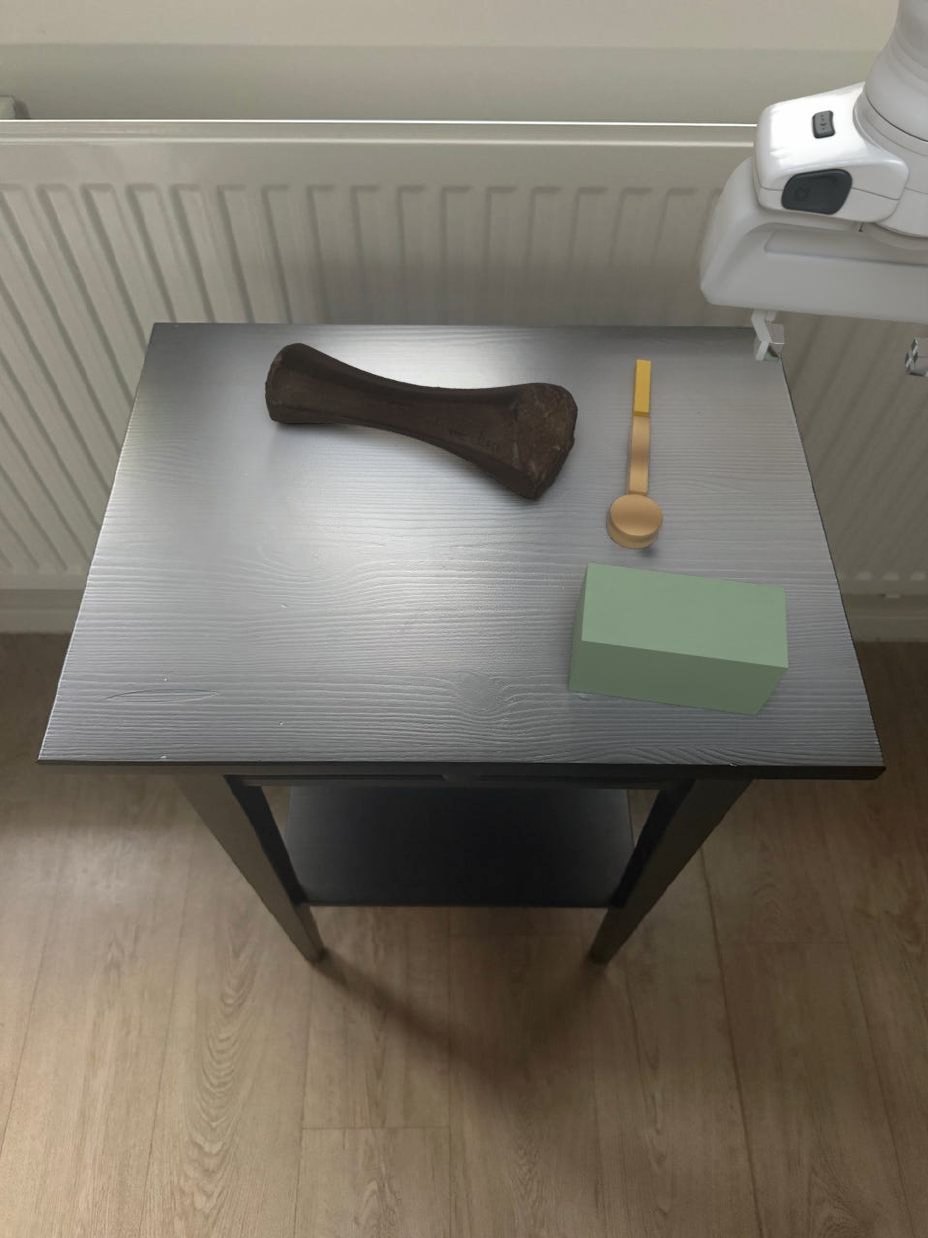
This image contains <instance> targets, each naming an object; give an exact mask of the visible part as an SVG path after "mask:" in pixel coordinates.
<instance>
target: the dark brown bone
mask: <svg viewBox="0 0 928 1238" xmlns="http://www.w3.org/2000/svg"><path fill="white" fill-rule="evenodd" d="M264 392H265V393H264V398H265V404H266V409H267V412H268V416H269V418H270V420H271V421H273V422H276V423H281V424H334V425H335V424H336V425H345V426H346V425H348V426H356V427H362V428H363V427H364V428H368V429H369V428H370V429H376V430H380V431H384V432H389V433H393V434H398V435H401V436H403V437H407V438H411V439H414V440H417V441H419V442H423V443H426V444H429V445H431V446H434V447H436V448H439V449H441V450H443V451H446V452H448V453H450V454H452V455H454V456H457V457H458V458H460V459H462V460H464V461H465V462H468V463H470V464H471V465H473V466H475V467H476V468H477V469H480V470H481V471H483V472H485V473H486V474H487V475H490V476H491V477H493V478H494V479H496V480H497V481H499V482H500V483H501V484H503V485H505V486H506V487H508V488H510V489H511V490H513V491H515V492H516V493H518V494H519V495H521V496H523V497H525V498H527V499H530V500H533V501H536V500H539V499H540V498H541V497H542V496H544V494H545V492H546V491H547V490H548V489H549V488H551V486H553V484H554V483H555V482H556V479H557V478H558V476H559V475H560V472H561V470H562V468H563V466H564V465H565V462H566V461H567V459H568V458H569V454H570V453H571V451H572V449H573V448H574V446H575V442H576V439H575V430H576V427H577V426H576V425H577V419H578V416H579V413H578V412H579V408H578V405H577V403H576V400H575V398H574V396H573V395H572V393H571V392H570V391H569V390H567V388H565V387H564V386H562V385H558V384H555V383H548V382H537V381H536V382H527V383H520V384H511V385H502V386H492V387H480V388H479V387H477V388H475V387H474V388H462V387H461V388H458V387H457V388H455V387H453V388H452V387H442V386H429V385H422V384H421V385H420V384H415V383H410V382H406V381H401V380H396V379H392V378H389V377H385V376H382V375H378V374H376V373H372V372H369V371H367V370H363V369H361V368H358V367H355V366H353V365H351V364H348V363H347V362H344V361H342V360H339V359H337V358H335V357H332V356H331V355H329V354H327V353H325V352H322V351H321V350H318V349H317V348H314V347H312V346H311V345H308V344H305V343H302V342H295V343H290V344H286V345H285V346H283V347H282V348H281V349H280V350H279V351H278V352H277V354H275V357H274V358H273V360H272V361H271V364H270V366H269V370H268V372H267V376H266V380H265V383H264Z"/></svg>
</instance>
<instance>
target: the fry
mask: <svg viewBox="0 0 928 1238" xmlns="http://www.w3.org/2000/svg"><path fill="white" fill-rule="evenodd" d="M651 372H652V361H651V360H647V359H646V360H645V359H636V363H635V367H634V376H633V391H632V408H631V409H632V410H631V420H632V419H633V416H639V417H647V418H649V413H650V398H651V397H650V394H651V377H652V376H651Z"/></svg>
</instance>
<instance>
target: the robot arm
mask: <svg viewBox="0 0 928 1238" xmlns="http://www.w3.org/2000/svg"><path fill="white" fill-rule="evenodd" d="M698 288H699V290H700V292H701V294H702V295H703V297H704V299H705V300H706V301H707V302H708V304H710V305H712V306H721V307H733V308H734V307H735V308H743V309H744V308H745V309H750V321H751V324H752V326H753V329H754V331H755V338H754V342H753V360H754V361H758V362H767V363H778V362H779V361H780V359H781V353H783V351H784V348H785V345H786V337H785V335H784V334H785V324H784V323H783V324H782V323H774V322H773V321H775V320H776V316H777V314H778V312H787V313H795V314H809V315H819V316H829V317H839V318H848V319H849V318H851V319H863V320H871V321H881V322H893V323H904V324H913V325H914V324H915V325H924V326H925V325H926V326H928V0H898V4H897V13H896V18H895V22H894V26H893V29H892V32H891V34H890V36H889V38H888V40H887V41H886V43H885V45H884V46H883V48H882V50H881V51H880V53H879V54H878V55H877V56H876V58H875V60H874V61H873V63H872V65H871V66H870V69H869V71H868V74H867V76H866V79H865V80H863V81H860V82H857V83H853V84H849V85H847V86H843V87H839V88H835V89H832V90H828V91H824V92H819V93H815V94H810V95H807V96H802V97H797V98H793V99H788V100H783V101H778V102H775V103H772V104H770V105H768V106H767V107H765V108H764V109H763V110H762V111H761V113H760V115H759V117H758V120H757V124H756V127H755V132H754V138H753V144H752V155H751V156H749V157H747V158H746V159H744V160H743V161H742V162H741V163H740V164H739V165H738V166H737V167H736V168H735V169H734V170H733V172H732V173H731V174H730V176H729V178H728V180H727V181H726V183H725V184H724V187H723V190H722V191H721V194H720V196H719V198H718V201H717V203H716V206H715V207H714V211H713V213H712V215H711V219H710V222H709V224H708V228H707V230H706V234H705V236H704V240H703V243H702V248H701V252H700V255H699V264H698ZM910 347H911V348H910V349H909V350H907V352H906V354H905V358H904V366H905V368H906V370H905V374H906V375H907V376H914V377H920V378H921V377H923V378H928V337H919V336H915V337H914V338H913V341H912V343H911V345H910Z"/></svg>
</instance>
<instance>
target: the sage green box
mask: <svg viewBox="0 0 928 1238" xmlns="http://www.w3.org/2000/svg"><path fill="white" fill-rule="evenodd" d="M573 617H574V618H573V627H572V628H573V629H572V639H571V649H570V650H571V652H570V660H569V661H570V662H569V674H568V683H567V684H568V685H567V691H570V692H576V693H577V692H578V693H586V694H593V695H598V696H599V695H600V696H608V697H615V698H622V699H629V700H637V701H645V702H651V703H659V704H668V705H674V706H682V707H688V708H696V709H704V710H709V711H710V710H711V711H718V712H725V713H734V714H741V715H747V716H748V715H749V716H757V715H758V714H759V712H760V711H761V709H762V708H763V706H764V705H765V704H766V702H767V701H768V699H769V698H770V696H771V695H772V693H773V691H774V690H775V688H776V687H777V686H778V684H779V683H780V681H781V680H782V678H783V677H784V675H785V674H786V672H787V671H788V669H789V668H790V667H789V664H790V663H789V649H788V647H789V646H788V628H787V627H788V625H787V608H786V588H785V587H781V586H775V585H774V586H773V585H767V584H766V585H765V584H759V583H750V582H743V581H736V580H727V579H721V578H720V579H719V578H711V577H704V576H696V575H688V574H680V573H673V572H665V571H657V570H651V569H642V568H633V567H625V566H619V565H610V564H603V563H595V562H587V564H586V568H585V572H584V576H583V580H582V584H581V588H580V592H579V597H578V599H577V605H576V609H575V613H574V616H573Z"/></svg>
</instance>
